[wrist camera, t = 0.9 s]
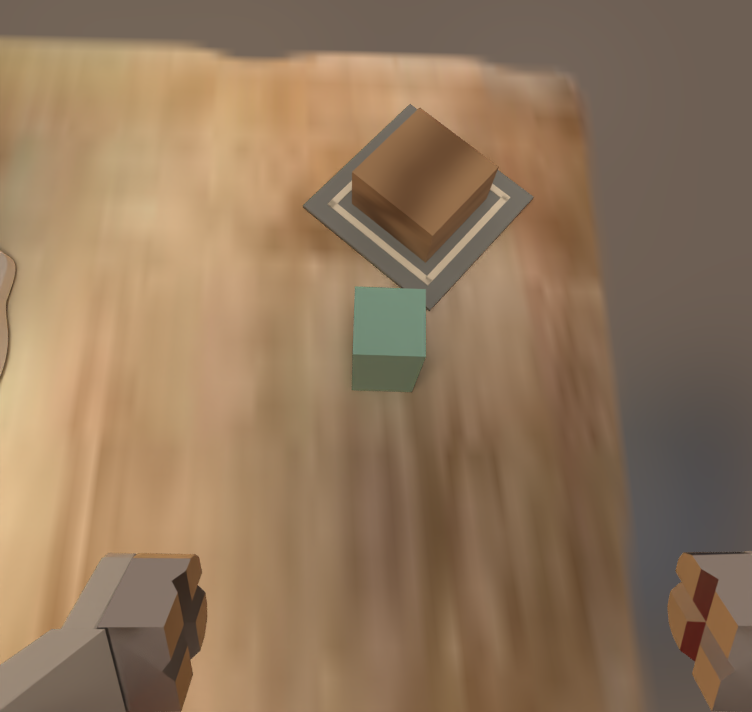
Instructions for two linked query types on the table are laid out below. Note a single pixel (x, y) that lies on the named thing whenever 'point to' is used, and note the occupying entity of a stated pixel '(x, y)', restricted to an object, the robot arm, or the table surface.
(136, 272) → the table surface
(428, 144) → the base block
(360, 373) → the pillar
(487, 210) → the board
